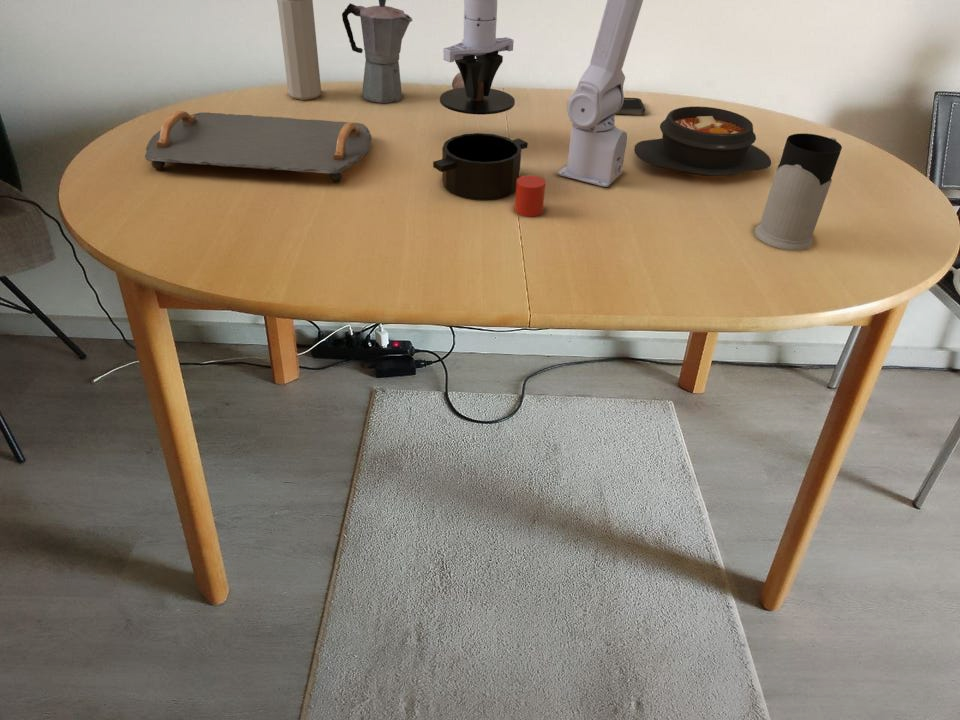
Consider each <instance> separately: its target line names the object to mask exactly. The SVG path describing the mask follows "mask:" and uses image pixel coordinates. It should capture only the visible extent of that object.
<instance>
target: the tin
mask: <svg viewBox="0 0 960 720" xmlns="http://www.w3.org/2000/svg"><path fill="white" fill-rule="evenodd" d="M545 194H546V180H545V179H544V178H542V177H540V176H539V175H538V176H537V175H529V174H527V175H522V176H519V178H518V179H517V180H516V192H515V195H514V196H515V198H514V212H515V213H516V214H518V215H520V216H523V217H528V218H531V217H538V216H540V215H542V214H543V212H544V204H545Z"/></svg>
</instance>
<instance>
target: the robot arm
mask: <svg viewBox="0 0 960 720" xmlns="http://www.w3.org/2000/svg"><path fill="white" fill-rule="evenodd" d="M643 2H644V0H606V4H605V7H604V11H603V15H602V18H601V22H600V25H599V29H598V32H597V36H596V39H595V42H594V43H595V44H594V47H593V51H592V54H591V58H590V62H589V65H588V67H587V68H586V69H585V71H584V73H583V74H582V76H581V77H580V78H579V81H578V84H577V87H576V89H575V91H574V92H573V93H572V94H571V95H570V96H569V98H568V100H567V104H566V112H567V116H568V118H569V120H570V122H571V128H570V137H569V145H568V153H567V154H568V155H567V162H566V165H565V166H564V167H562V168H561V169H560V170H559V171H558V172H557V175H558V176H559V177H564V178H568V179H572V180H576V181H580V182H584V183H588V184H591V185H596V186H599V187H603V188H608V187H609V186H610V185H611V184H612V183H614V182H615V180H617V179H618V178H619V177H620V176H621V175H622V174H623V173H624V170H623V167H624V161H625V154H626V149H627V143H628V142H627V140H628V133H627V131H625V130H623V129H620V128H618V127H617V126H615V124H616V123H615V121H616V120H615V119H616V118H615V117H616V114H615V113H617V112H618V111H619V110H620V109H621V107H622V105H623V101H624V98H625V93H624V84H625V81H626V75H625V74H624V71H623V68H624V63H625V61H626V57H627V55H628V52H629V51H628V50H629V48H630V44H631V41H632V38H633V36H634V35H633V34H634V31H635V29H636V25H637V22H638V18H639V15H640V12H641V8H642V6H643ZM497 19H498V0H463V39H462V40H461V42H459V43H456V44H454V45H451V46H448V47H444V48H443V54H442V55H443V57H442V58H443V60H444V61H446V62H447V63H455V64H456V66H457V68H458V70H459V73H461V75H462V78H463V82H464V86H465V91H466V96H467V97H469V98H471V99H476V96H477V87H478V79H482V80H484V96H488V95H489V92H490V88H491V89H492V85H493V81H494V79H495V77H496V74H497V72H498V70H499V68H500V66H501V65H502V64H503V61H504V59H503V58H504V56H503V55H501V54H499V53H500V52H506V51H507V52H513V51H514V41H515V40H514V39H512V38H511V37H508V36H505V37H497Z"/></svg>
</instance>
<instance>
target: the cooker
mask: <svg viewBox="0 0 960 720" xmlns="http://www.w3.org/2000/svg"><path fill="white" fill-rule="evenodd" d="M528 145H529V143H528V141H526V140H523V139H521V138H514V139H511V138H509V137H507V136H502V135H500V134H499V135H498V134H494V133H483V132H482V133H481V132H476V133H464V134H460V135H456V136H452V137H450V138H449V139H447V140H446V141H444V143H443V145H442V153H441V154H442V158H441V159H437V160H434V161H432V167H433V168H434V169H435V170H438V171H439V172H441V180H442V185H443V188H444V189H445V190H446V191H448V193H450V194H452V195H454V196H457V197H459V198H463V199H468V200H475V201H492V200H500V199H504V198H507V197H509V196H511V195H514V194H515V193H516V180H517V179H518V178H519V177H521V176H520V175H521V174H520V173H521V163H522V150H525V149H528Z"/></svg>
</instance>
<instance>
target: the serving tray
mask: <svg viewBox="0 0 960 720" xmlns="http://www.w3.org/2000/svg"><path fill="white" fill-rule="evenodd" d="M372 138H373V136H372V134H371V132H370V130H369V128H368V126H366V125H365V124H364V123H360V122H352V121H351V122H349V121H333V120H325V119H324V120H323V119H302V118H293V117H283V116H264V115H263V116H262V115H261V116H260V115H252V114H233V113H229V114H227V113H222V112H221V113H220V112H219V113H218V112H198V113H197V112H196V113H193V114H189V112H187V111H185V110H177V111H175V112H172V113H171V114H170V115H169V116H167V117H166V118H165V120H164V121H163V123H162V125H161V128H160V129H159V131H157V132H156V133H155V134H153V135H152V137H151V138H150V139H149V141H148V143H147V145H146V147H145V155H144V158H145V160H146V161H147V162H150V164H151V166H152V167H153V169H154V170H155V171H162V170H165V169H164V168H165V165H166V163H175V164H188V165H189V164H190V165H200V166H201V165H202V166H215V167H217V166H218V167H232V168H240V169H241V168H244V169H257V170H259V169H260V170H271V171H272V170H273V171H288V172H300V173H301V172H302V173H314V174H315V173H317V174H329V175H328V177H329V179H330V181H331V182H332V183H333V184H339V183H341V181H342V179H343V174H342V172H344V171H346V170H348V169H350V168H352V166H354V165H356V164H357V163H358V162H360V161H361V160H362V158H363V157H365V155H366V154H367V153H368V152H369V151H370V150H371V147H372Z"/></svg>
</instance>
